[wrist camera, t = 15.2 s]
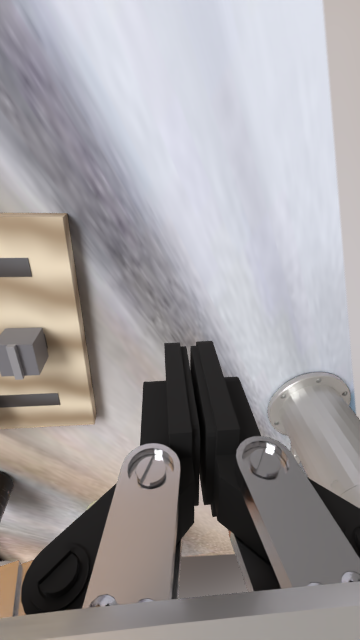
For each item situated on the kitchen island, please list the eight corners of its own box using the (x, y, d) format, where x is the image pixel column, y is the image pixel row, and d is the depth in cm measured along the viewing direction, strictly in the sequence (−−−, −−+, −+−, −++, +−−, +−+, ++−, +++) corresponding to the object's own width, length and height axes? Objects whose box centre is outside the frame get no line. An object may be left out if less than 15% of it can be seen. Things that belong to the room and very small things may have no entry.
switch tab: (48, 357, 37) (38, 378, 33) (13, 358, 36) (-1, 380, 33) (42, 326, 35) (30, 346, 31) (5, 327, 34) (-12, 347, 31)
